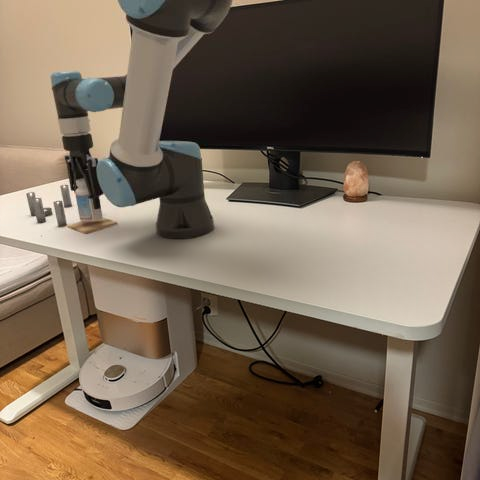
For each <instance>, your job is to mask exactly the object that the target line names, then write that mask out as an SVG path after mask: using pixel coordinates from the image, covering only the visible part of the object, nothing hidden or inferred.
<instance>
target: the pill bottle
mask: <svg viewBox="0 0 480 480" xmlns="http://www.w3.org/2000/svg"><path fill="white" fill-rule="evenodd" d="M76 185H77V187H78V188H77V189H76V191H75V193H74V194H75V200H76V205H77V211H78V215H79V219H80V222H81V221H83V222H91V221H93V220H92V214H91V209H90V203H89V199H88V197H89V196H90V194H89V191H88V188H87V185H86V182H85V179H84V178H83V179H78V180H76ZM101 204H102V203H100V205H101ZM101 211H102V209H101ZM102 212H103V211H102Z"/></svg>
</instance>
